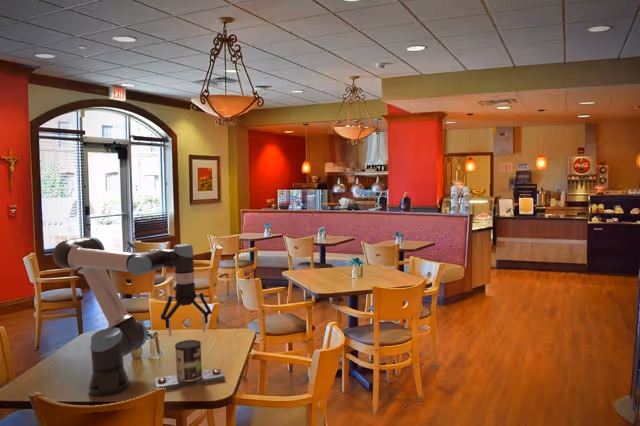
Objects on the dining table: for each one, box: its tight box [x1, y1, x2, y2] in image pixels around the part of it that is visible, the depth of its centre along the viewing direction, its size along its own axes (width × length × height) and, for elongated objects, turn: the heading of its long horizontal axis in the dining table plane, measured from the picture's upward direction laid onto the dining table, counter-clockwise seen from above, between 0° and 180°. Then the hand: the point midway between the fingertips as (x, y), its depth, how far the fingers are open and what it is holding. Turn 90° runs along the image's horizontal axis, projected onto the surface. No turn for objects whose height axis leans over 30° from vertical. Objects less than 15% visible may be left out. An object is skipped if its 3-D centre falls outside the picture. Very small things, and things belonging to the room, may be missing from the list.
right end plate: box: [193, 367, 226, 386], centre depth 221 cm, size 12×10×3 cm
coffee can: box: [174, 339, 203, 383], centre depth 218 cm, size 10×10×14 cm
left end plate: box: [154, 374, 189, 391], centre depth 216 cm, size 12×10×3 cm
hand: (187, 333), depth 217 cm, fingers open, 13 cm apart
